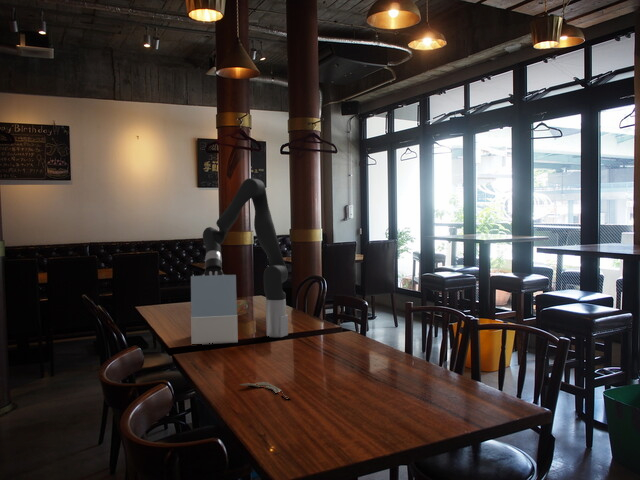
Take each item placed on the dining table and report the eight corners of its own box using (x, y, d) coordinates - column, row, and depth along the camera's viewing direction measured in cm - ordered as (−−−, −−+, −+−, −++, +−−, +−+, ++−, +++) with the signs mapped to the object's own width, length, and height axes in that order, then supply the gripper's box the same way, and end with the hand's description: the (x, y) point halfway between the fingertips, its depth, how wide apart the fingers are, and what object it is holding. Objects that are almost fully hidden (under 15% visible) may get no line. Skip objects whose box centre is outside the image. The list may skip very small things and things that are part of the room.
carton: (193, 335, 237) (192, 310, 236) (236, 333, 241) (235, 308, 240) (191, 345, 219) (190, 317, 219) (237, 342, 223) (237, 315, 223)
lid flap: (190, 276, 222) (190, 276, 221) (235, 274, 226) (235, 274, 225) (191, 317, 219) (191, 317, 218) (236, 315, 223) (236, 315, 222)
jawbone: (257, 383, 171) (257, 377, 171) (306, 396, 159) (306, 389, 159) (238, 389, 163) (239, 383, 163) (289, 403, 152) (289, 396, 152)
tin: (230, 317, 279) (230, 302, 279) (226, 316, 281) (226, 302, 281) (249, 313, 291) (249, 298, 291) (245, 312, 293) (245, 298, 292)
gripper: (198, 257, 230) (197, 288, 219) (227, 257, 233) (228, 287, 222) (199, 267, 236) (198, 298, 225) (227, 267, 238) (228, 297, 227)
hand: (213, 292), depth 223 cm, fingers closed
